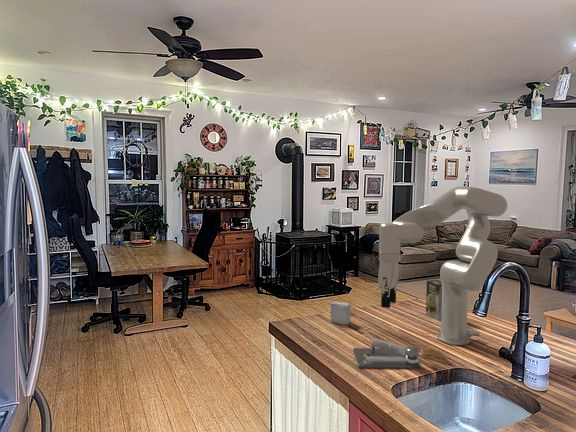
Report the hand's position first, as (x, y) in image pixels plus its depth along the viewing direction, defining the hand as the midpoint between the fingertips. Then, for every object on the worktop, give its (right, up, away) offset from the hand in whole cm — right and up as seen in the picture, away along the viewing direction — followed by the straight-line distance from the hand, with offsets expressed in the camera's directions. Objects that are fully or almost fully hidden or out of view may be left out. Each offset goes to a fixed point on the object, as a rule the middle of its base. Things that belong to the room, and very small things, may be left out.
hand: (388, 304), depth 150 cm
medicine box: (-14, -15, +32) cm, 38 cm away
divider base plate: (-3, -18, -6) cm, 19 cm away
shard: (+16, -19, -4) cm, 25 cm away
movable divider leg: (0, -17, -6) cm, 18 cm away
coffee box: (+32, -14, +39) cm, 53 cm away
